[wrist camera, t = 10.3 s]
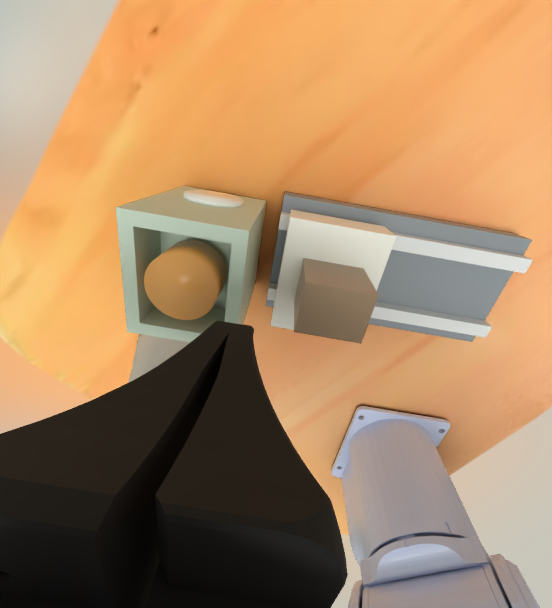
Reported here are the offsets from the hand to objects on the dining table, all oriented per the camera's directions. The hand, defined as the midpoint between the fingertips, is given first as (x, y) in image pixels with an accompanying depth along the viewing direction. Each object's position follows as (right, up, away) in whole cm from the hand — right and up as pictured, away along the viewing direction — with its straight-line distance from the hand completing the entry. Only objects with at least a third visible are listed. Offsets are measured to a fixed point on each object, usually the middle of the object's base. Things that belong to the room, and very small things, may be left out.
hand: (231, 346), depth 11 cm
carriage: (+4, +3, +6) cm, 8 cm away
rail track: (+8, +4, +9) cm, 13 cm away
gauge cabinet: (-2, +6, +8) cm, 10 cm away
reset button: (-2, +3, +3) cm, 5 cm away
